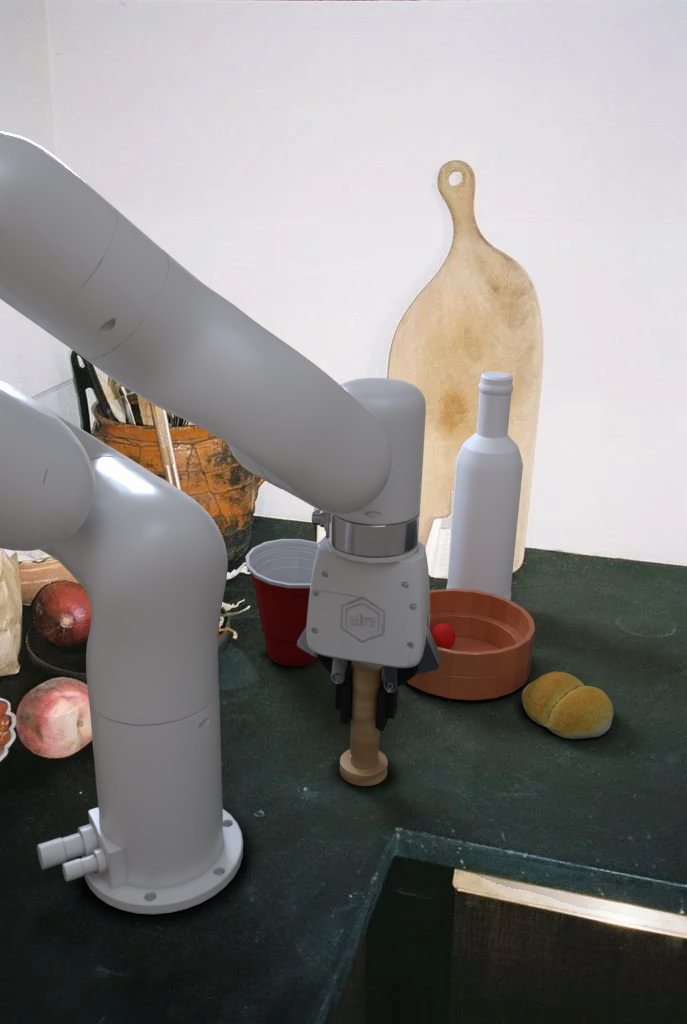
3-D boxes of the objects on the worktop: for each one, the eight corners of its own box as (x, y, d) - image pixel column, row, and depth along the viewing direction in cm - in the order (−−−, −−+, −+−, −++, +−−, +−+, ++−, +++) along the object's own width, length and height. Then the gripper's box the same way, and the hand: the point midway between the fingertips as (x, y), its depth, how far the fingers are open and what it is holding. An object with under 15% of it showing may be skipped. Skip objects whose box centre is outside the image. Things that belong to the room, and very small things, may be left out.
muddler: (355, 792, 83) (359, 682, 79) (331, 765, 87) (333, 659, 83) (396, 777, 85) (402, 670, 81) (371, 752, 89) (375, 648, 85)
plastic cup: (286, 690, 99) (286, 588, 94) (227, 650, 106) (225, 554, 102) (362, 658, 105) (365, 560, 101) (301, 622, 113) (302, 530, 109)
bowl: (444, 719, 94) (447, 667, 92) (366, 652, 107) (367, 605, 104) (558, 682, 102) (564, 633, 99) (473, 623, 114) (476, 579, 112)
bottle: (520, 621, 114) (545, 380, 104) (461, 630, 112) (481, 384, 101) (490, 593, 122) (511, 365, 111) (435, 601, 119) (450, 368, 108)
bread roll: (580, 753, 90) (585, 717, 88) (508, 712, 96) (511, 678, 94) (630, 722, 95) (635, 688, 93) (558, 685, 101) (562, 652, 99)
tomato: (438, 657, 105) (439, 633, 104) (423, 645, 107) (424, 622, 106) (459, 651, 106) (461, 627, 105) (444, 639, 109) (446, 616, 108)
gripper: (265, 534, 76) (266, 726, 83) (464, 559, 72) (448, 759, 79) (294, 503, 83) (292, 683, 89) (476, 525, 79) (461, 712, 86)
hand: (365, 717), depth 84 cm, fingers closed on muddler, 2 cm apart
